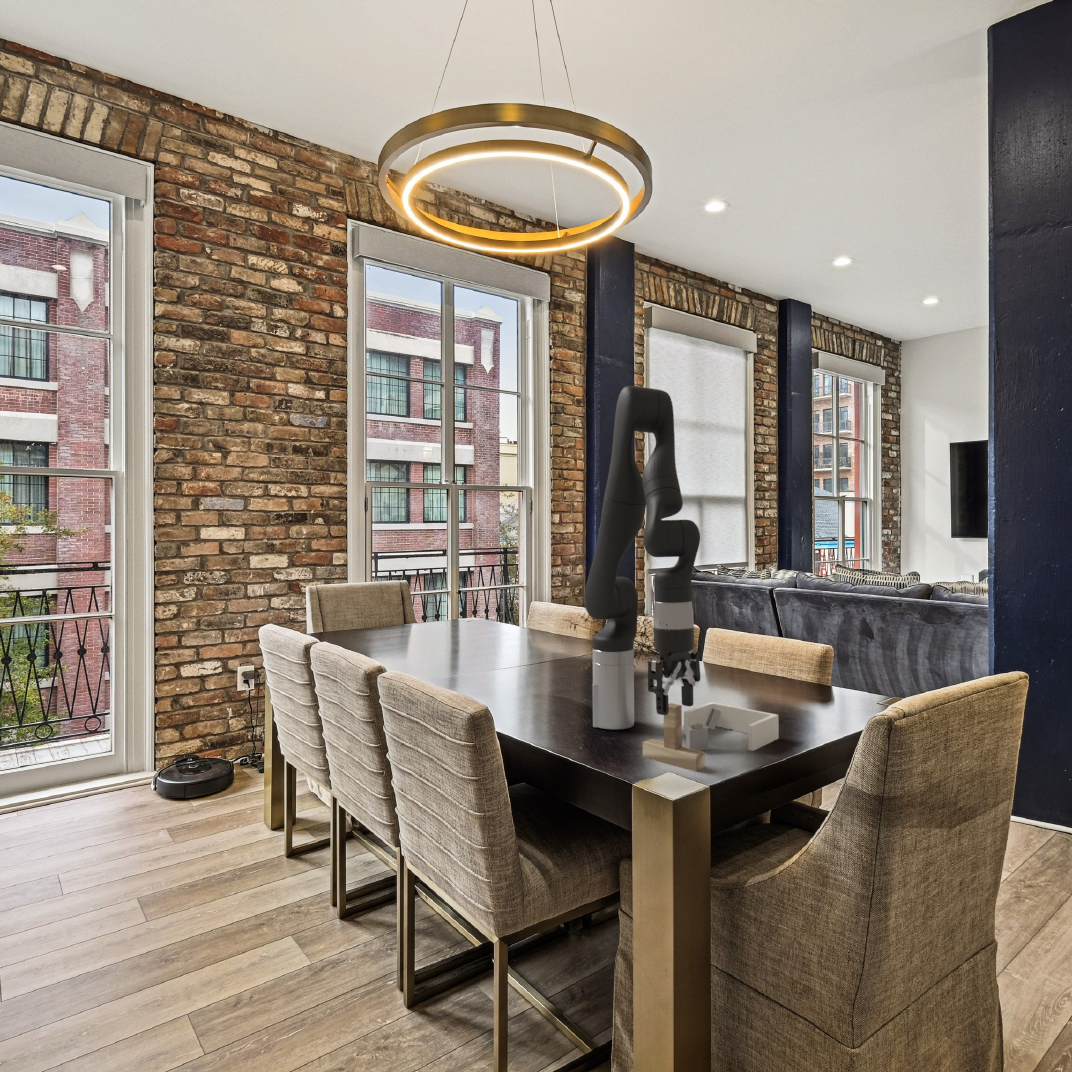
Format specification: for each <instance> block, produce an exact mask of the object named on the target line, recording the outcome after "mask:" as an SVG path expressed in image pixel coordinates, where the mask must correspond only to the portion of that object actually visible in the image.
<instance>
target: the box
mask: <svg viewBox="0 0 1072 1072" xmlns="http://www.w3.org/2000/svg"><path fill="white" fill-rule="evenodd" d="M712 707H713V708H715V709H718V710H720V711H721V714H720V717H719V719H718V722H717V724H716V726H717V727H716V726H715V727H716V728H721V727H722V728H721V729H725V728H726V730H730V729H732V730H731V731H734V732H740V733H745V734H747V750H748V751H751V752H753V751H755V750H758V749H760V748H763V747H764V746H766V745H768V744H770V743H773V742H774V740H775V741H778V739H779V725H780V724H779V723H780V722H779V714H777V713H771V712H767V711H766V712H765V711H761V710H755V709H750V708H745V707H739V706H735V705H728V704H723V703H719V702H713V701H710V702H707V703H704V704H701V705H699V706H696V707H692V708H690V709H687V710H685V711H683V735H684V736H686V728H689V727H691V725H692V723H697V722H701V723H702V726H705V723H706V720H707V718H708V716H709V713H710V711H711V708H712Z"/></svg>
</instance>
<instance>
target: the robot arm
mask: <svg viewBox="0 0 1072 1072" xmlns="http://www.w3.org/2000/svg"><path fill="white" fill-rule="evenodd" d="M615 408H616V409H615V415H614V425H613V436H612V438H613V439H612V447H611V448H612V449H611V458H610V463H609V471H608V474H607V475H608V477H607V482H606V486H605V491H604V496H603V502H602V508H601V509H602V510H601V516H600V522H599V523H600V524H599V528H598V529H599V530H598V536H597V540H596V546H595V549H594V550H595V551H594V555H593V559H592V562H591V566H590V569H589V574H588V578H587V582H586V585H585V589H584V590H585V591H584V607H585V608H586V609H585V610H586V612H587V614H588V615H590V616H589V617H591V619H595V620H605V619H607V620H606V621H605V624H606V625H605V624H604V627H602V628H601V631H600V630H599V631H597V632H598V633H597V634H596V633H594V634H595V635H594V634H593V635H594V636H593V635H592V648H591V649H593V650H592V727H593V728H599V729H605V730H625V729H630V728H632V727H633V726H635V672H634V671H635V668H634V666H635V661H634V660H635V658H634V651H635V649H633V648H635V644H634V643H635V642H634V640H636V636H637V635H638V634H637V632H638V628H637V627H638V624H637V623H638V622H637V620H638V616H639V611H638V610H639V597H638V591H637V587H636V586H635V583H634V582H633V581H632V580H631V579H630V578H629V577H625V576H618V571H619V568H620V564H621V561H622V559H623V557H624V555H625V553H626V552H627V550H628V549H629V547H630V546H631V544H632V543H633V542H634V540H635V539H636V537H637V536H638V534H639V533H640V530H641V528H642V526H643V523H644V518H645V526H644V530H643V531H644V532H643V547H644V550H645V551H646V553H648V555H650V556H651V557H652V558H653V557H654V558H673V557H674V558H678V559H677V561H676V563H675V565H673V566H671V567H669V568H665V569H661V570H659V571H656V572H655V574H654V576H653V596H654V598H653V599H654V603H653V616H652V617H653V619H652V622H653V629H654V630H653V632H654V633H653V639H654V641H653V642H654V645H653V649H656V650H658V651H659V652H658V653H659V656H658V658H659V659H653V660H651V659H650V658H649V659H648V660H649V661H648V660H647V667H648V668H647V692H648V693H653V694H654V695H655V709H656V714H658V715H660V716H661V715H662V716H664V715H667V714H668V713H669V705H668V704H669V694H668V693H669V691H670V689H671V686H673V685H674V684H675V681H676V680H678V679H679V681H680V683H681V686H680V687H681V689H680V690H681V705H682V706H684V707H693V706H694V687H695V686H696V683H697V682H698V683H699V682H700V681H701V668H700V665H701V664H700V652H699V651H697V650H696V651H695V650H694V648H695V631H694V630H695V625H694V621H695V619H694V608H693V602H692V601H693V599H692V579H693V572H694V568H695V567H694V566H695V563H696V558H697V554H698V551H699V548H700V543H701V532H700V530H699V527H698V525H697V524H696V522H694V521H693V520H691V519H666V518H670V517H673V516H675V515H678V513H679V512H681V510H682V509H683V504H684V503H683V496H682V491H681V487H680V486H681V485H680V482H679V478H678V473H677V472H678V471H677V466H676V465H677V464H676V450H675V449H676V448H675V447H676V445H675V443H676V441H675V439H676V438H675V417H674V406H673V402H672V398H671V396H670V394H669V393H668V392H667V391H665V390H662V389H657V388H649V387H642V386H635V385H627V386H624V387H623V388H622V389H621V391H620V393H619V394H618V398H617V403H616V407H615ZM634 432H639V433H647V434H648V433H650V434H653V436H654V438H655V439H654V441H655V446H654V449H653V452H652V453H651V454H650V457H649V458H648V461H647V462H646V463H645V466H644V468H643V472H642V474H641V471H640V470H639V467H638V464H637V461H636V459H635V456H634V448H633V446H634V443H633V441H634ZM645 512H646V513H645ZM645 514H646V517H645ZM663 519H664V520H663ZM693 670H694V671H693ZM655 681H656V682H655ZM654 682H655V683H654ZM654 684H655V685H654Z"/></svg>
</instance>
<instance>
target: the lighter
mask: <svg viewBox="0 0 1072 1072" xmlns="http://www.w3.org/2000/svg"><path fill="white" fill-rule="evenodd" d="M720 714H721V711H720V710H718V709H715V708H713V707H712V708H711V711H710V713H709V716H708V718H707V720H706V723H705V726H702V723H701V722H697V723H692V725H691V727H689V728H686V735H685V737H686V738H685V740H686V741H685V742H686V744H685V745H686V746H685V747H686V748H690V749H694V750H698V751H699V750H700V751H706V750H709V730H712V731H714V730H715V728H716V724H717V722H718V719H719V717H720Z"/></svg>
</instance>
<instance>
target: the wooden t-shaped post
mask: <svg viewBox="0 0 1072 1072" xmlns="http://www.w3.org/2000/svg"><path fill="white" fill-rule="evenodd" d="M668 705H669V713H668V714H667V715H663V741H662V740H658V739H653V738H650V739H648V740H644V741H642V758H644V757H646V758H645V759H648V758H649V759H648V760H652V759H654V760H653V761H655V760H656V762H659V763H663V764H667V765H670V766H675V767H677V766H678V768H682V769H686V770H688V769H689V770H690V771H692V770H693V771H692V772H698V771H700V770H702V769H704V767H705V766H706V765H705V763H706V762H705V761H706V759H705V758H706V757H705V753H706V752H705V751H703V750H700V751H698V750H694V749H690V748H686V746H683V740H682V739H683V737H682V736H683V735H682V734H683V732H682V731H683V725H682V723H683V722H682V721H683V720H682V718H683V717H682V716H683V715H682V712H683V711H682V706H683V705H682V704H677V703H672V702H671V703H668Z"/></svg>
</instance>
